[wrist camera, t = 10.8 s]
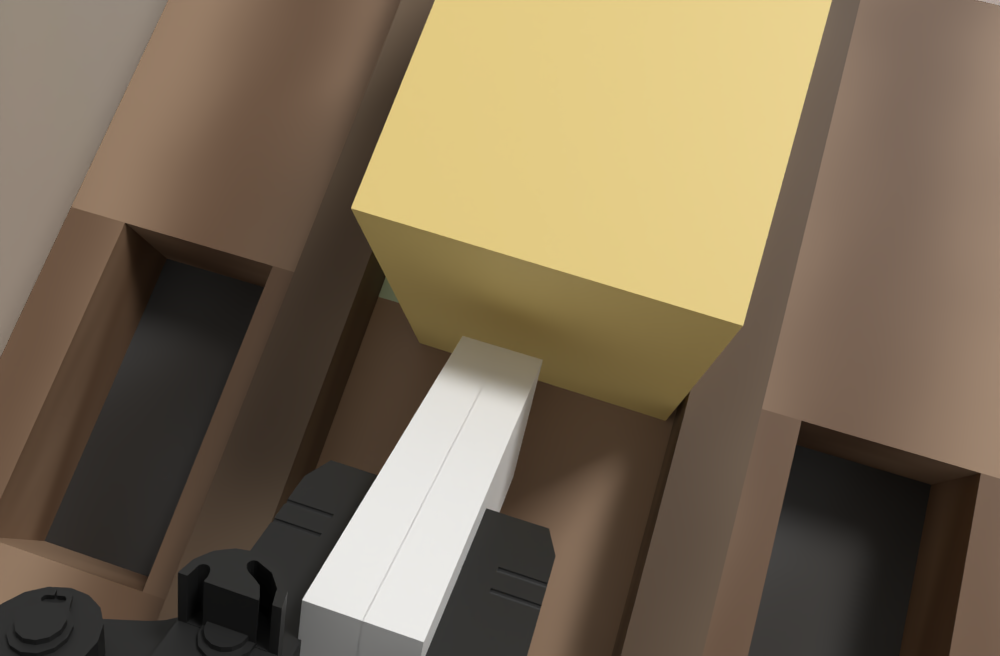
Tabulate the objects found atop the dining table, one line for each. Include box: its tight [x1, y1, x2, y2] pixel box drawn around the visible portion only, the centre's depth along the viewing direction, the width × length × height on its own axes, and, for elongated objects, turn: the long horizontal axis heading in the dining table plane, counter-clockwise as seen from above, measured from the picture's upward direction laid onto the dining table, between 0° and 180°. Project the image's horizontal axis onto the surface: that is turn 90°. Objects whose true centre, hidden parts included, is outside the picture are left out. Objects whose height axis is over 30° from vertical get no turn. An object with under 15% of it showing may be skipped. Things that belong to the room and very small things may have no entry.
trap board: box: [0, 0, 1000, 656], centre depth 21 cm, size 24×32×5 cm
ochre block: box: [351, 0, 832, 421], centre depth 18 cm, size 6×10×8 cm, turn 162°
